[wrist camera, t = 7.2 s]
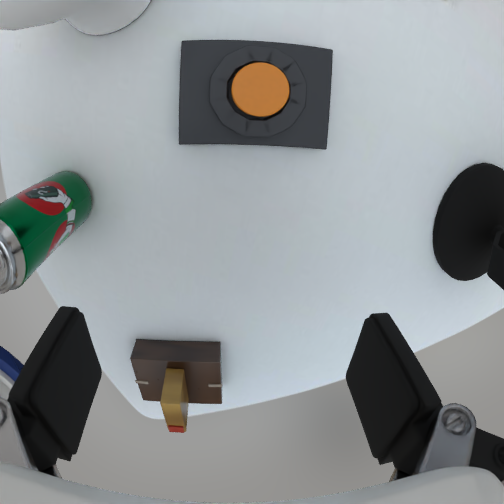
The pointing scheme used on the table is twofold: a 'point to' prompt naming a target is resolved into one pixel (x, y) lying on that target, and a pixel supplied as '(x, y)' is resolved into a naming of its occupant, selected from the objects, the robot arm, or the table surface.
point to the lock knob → (175, 400)
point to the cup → (71, 14)
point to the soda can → (39, 224)
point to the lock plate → (179, 357)
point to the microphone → (472, 225)
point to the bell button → (260, 89)
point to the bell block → (235, 120)
